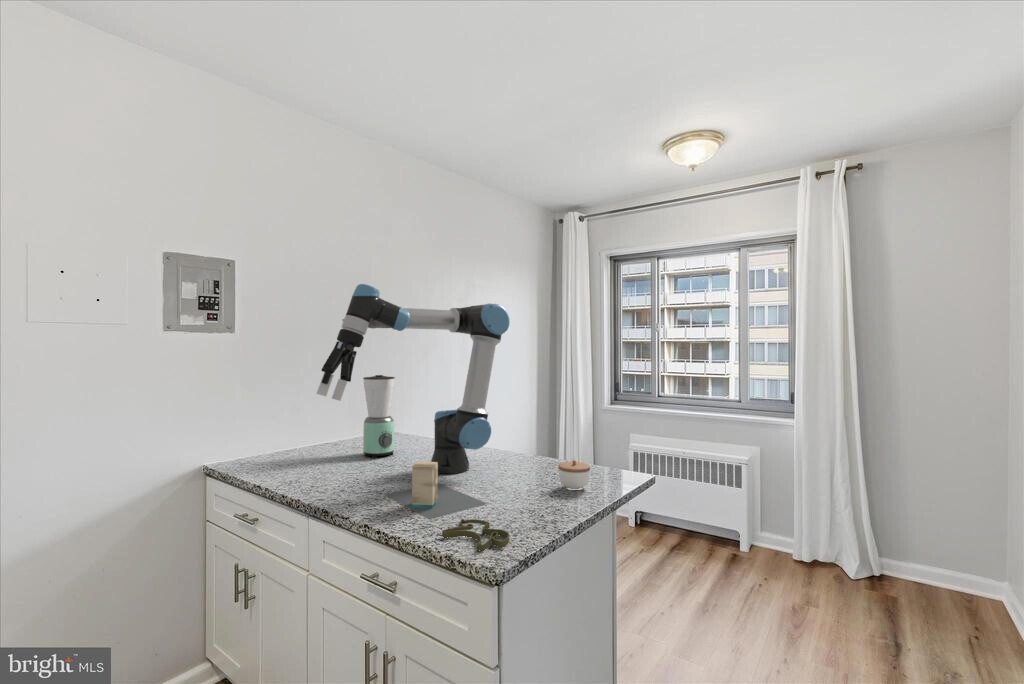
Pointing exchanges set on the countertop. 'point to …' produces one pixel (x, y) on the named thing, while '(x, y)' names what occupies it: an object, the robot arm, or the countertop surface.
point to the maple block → (424, 485)
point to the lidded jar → (574, 474)
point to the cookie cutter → (493, 532)
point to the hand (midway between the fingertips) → (328, 397)
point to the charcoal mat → (439, 502)
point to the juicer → (378, 416)
